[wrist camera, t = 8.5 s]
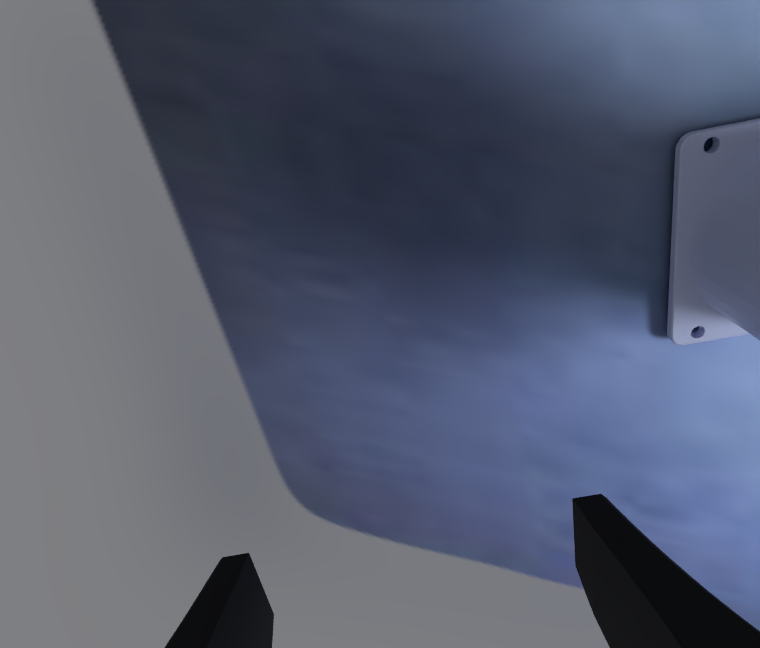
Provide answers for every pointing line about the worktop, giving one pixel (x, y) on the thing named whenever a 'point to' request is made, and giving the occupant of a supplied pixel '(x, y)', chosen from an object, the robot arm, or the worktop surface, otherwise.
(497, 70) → the worktop surface
